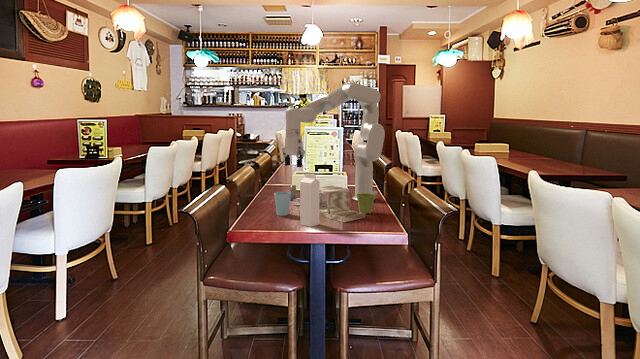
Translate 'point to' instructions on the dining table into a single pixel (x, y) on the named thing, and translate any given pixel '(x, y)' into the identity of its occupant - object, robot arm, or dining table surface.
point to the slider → (293, 198)
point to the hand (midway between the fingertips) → (293, 166)
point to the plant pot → (365, 202)
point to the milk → (309, 200)
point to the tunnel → (338, 205)
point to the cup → (282, 203)
